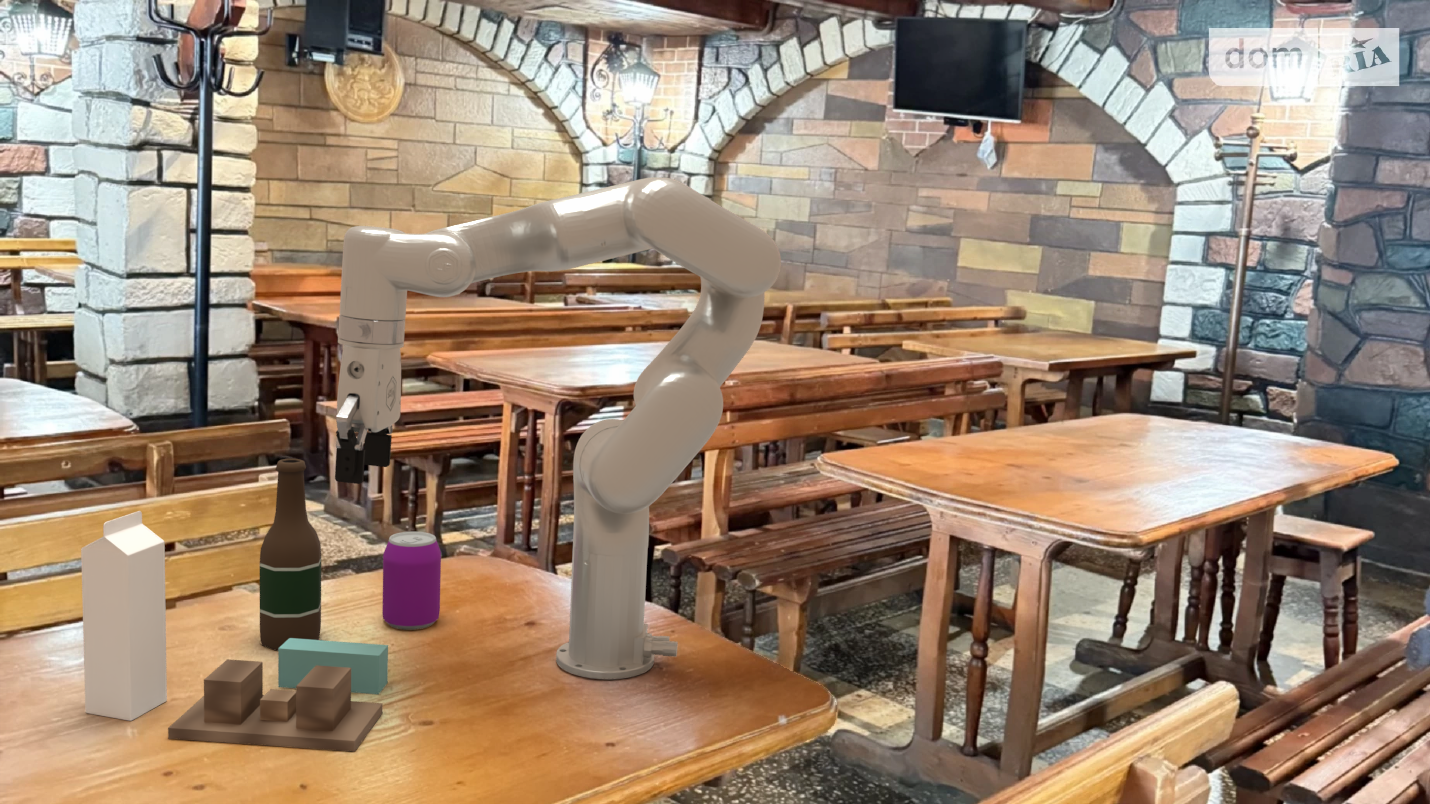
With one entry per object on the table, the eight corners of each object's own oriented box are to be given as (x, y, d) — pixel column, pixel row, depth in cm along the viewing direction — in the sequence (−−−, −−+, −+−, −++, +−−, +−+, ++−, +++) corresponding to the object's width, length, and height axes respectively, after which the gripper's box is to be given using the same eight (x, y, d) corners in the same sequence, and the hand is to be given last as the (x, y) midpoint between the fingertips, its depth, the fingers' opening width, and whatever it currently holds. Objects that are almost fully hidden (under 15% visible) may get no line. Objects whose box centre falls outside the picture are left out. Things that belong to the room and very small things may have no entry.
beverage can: (414, 608, 178) (415, 526, 176) (451, 622, 173) (453, 538, 171) (370, 622, 172) (371, 537, 170) (407, 635, 167) (409, 549, 165)
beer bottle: (302, 655, 158) (303, 469, 154) (246, 647, 160) (245, 463, 156) (333, 634, 166) (334, 457, 162) (279, 627, 167) (279, 451, 164)
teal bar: (387, 684, 151) (388, 645, 151) (378, 695, 148) (379, 655, 147) (289, 677, 152) (289, 637, 151) (278, 688, 148) (278, 648, 148)
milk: (84, 713, 138) (77, 520, 135) (123, 693, 144) (117, 507, 141) (132, 722, 137) (126, 526, 133) (169, 700, 143) (164, 512, 139)
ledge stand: (382, 713, 143) (383, 663, 142) (354, 751, 133) (355, 697, 132) (208, 701, 143) (208, 651, 142) (168, 738, 133) (167, 685, 132)
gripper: (379, 343, 139) (370, 493, 142) (424, 329, 156) (415, 463, 159) (313, 336, 140) (305, 485, 142) (365, 322, 157) (357, 456, 159)
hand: (363, 473), depth 151 cm, fingers open, 9 cm apart
